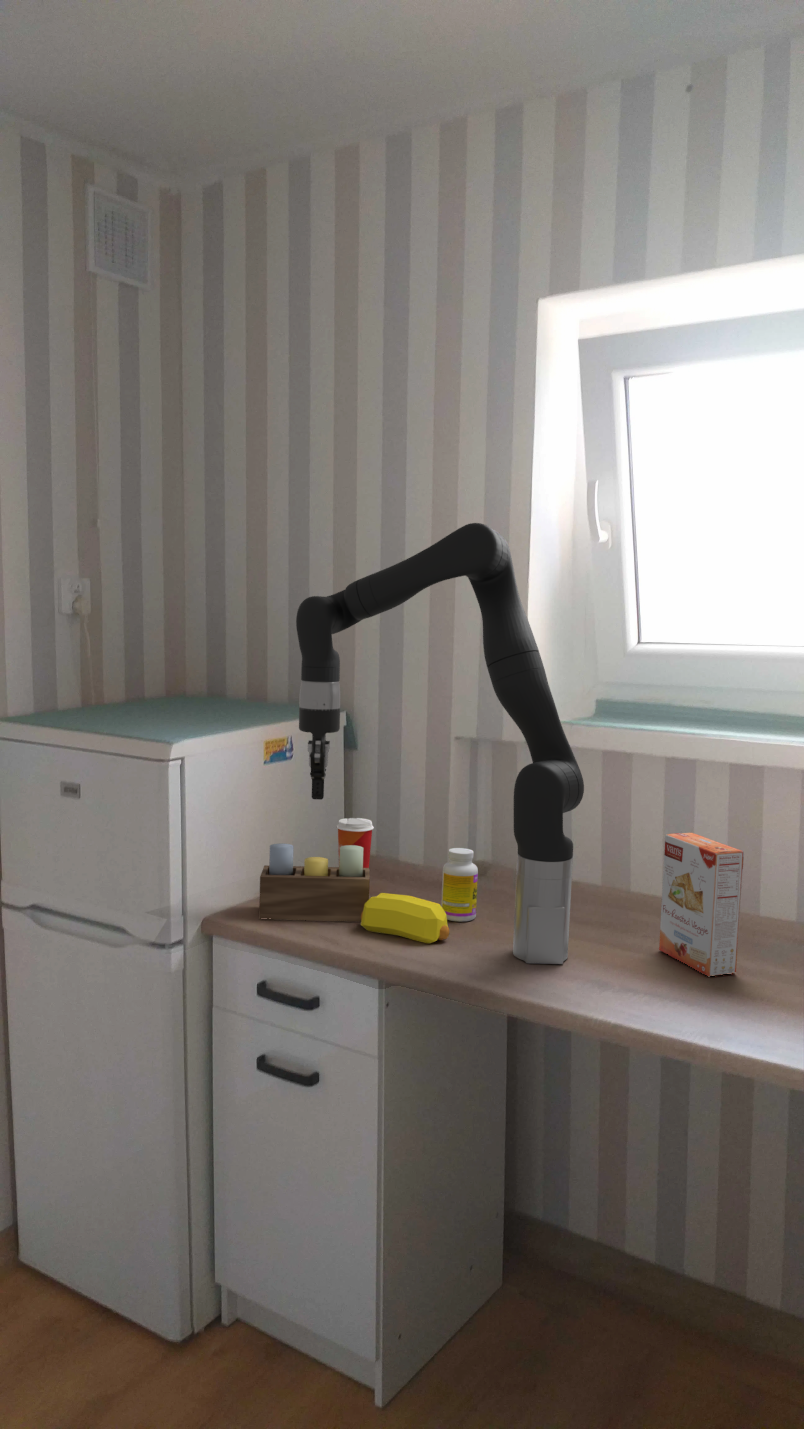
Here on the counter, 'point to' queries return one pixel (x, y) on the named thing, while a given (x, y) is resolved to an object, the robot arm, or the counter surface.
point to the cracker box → (701, 903)
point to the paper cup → (356, 835)
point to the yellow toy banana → (405, 917)
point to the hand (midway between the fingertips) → (317, 798)
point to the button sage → (351, 861)
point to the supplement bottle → (459, 885)
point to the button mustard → (316, 866)
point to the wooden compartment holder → (313, 896)
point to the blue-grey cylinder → (281, 859)
